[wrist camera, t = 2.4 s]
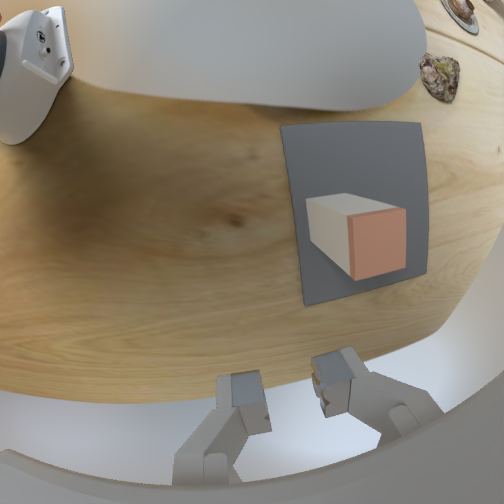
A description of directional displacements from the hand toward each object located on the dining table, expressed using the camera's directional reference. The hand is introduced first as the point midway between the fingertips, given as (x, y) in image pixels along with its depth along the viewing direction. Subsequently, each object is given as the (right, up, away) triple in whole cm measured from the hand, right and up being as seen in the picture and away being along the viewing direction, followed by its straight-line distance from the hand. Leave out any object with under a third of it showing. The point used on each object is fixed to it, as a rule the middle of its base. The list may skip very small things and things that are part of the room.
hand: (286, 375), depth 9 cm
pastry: (+39, +52, +13) cm, 66 cm away
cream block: (+8, +9, +22) cm, 25 cm away
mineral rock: (+27, +31, +18) cm, 45 cm away
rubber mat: (+13, +10, +23) cm, 28 cm away
